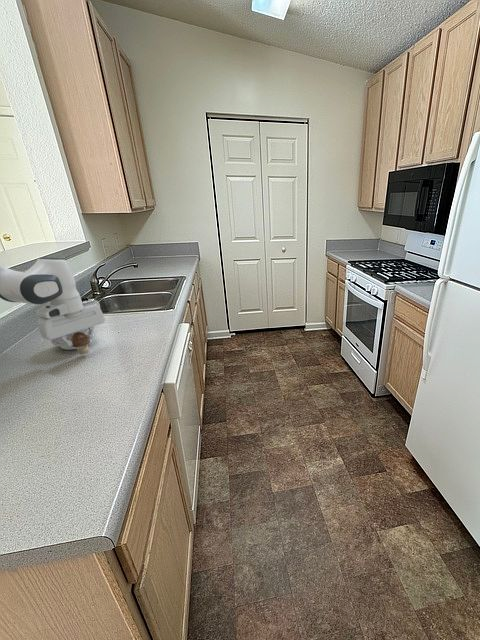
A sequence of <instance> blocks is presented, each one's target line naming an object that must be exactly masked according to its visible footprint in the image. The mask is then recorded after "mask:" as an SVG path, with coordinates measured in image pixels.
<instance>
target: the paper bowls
mask: <svg viewBox="0 0 480 640" xmlns="http://www.w3.org/2000/svg"><path fill="white" fill-rule="evenodd" d="M77 332H82V333H84V334H85V335H86V334H88V332H89V329H87V328H86V329H83V330H80V331H77ZM74 333H76V332H74ZM74 333H71V334H68V335H66V336H67V338H65V339H67V340H69V339H70V338H71V337H72V335H73V334H74ZM96 336H97V330H96V328H95V327H94V332H93V337H94V338H95V337H96ZM90 341H91V342H90V343H89V344H88V346H89V345H90V344H91V343H92V341H93V339H90ZM50 343H51V344H52V345H53V346H57V347H60V348H61V349H62V350H67V351H69V350H70V351H72V350H77V348H76V347H72V346H70V347H68V346H67V345H66V343H65V342H64V341H63V340H62V339H60V337H59V338H55V339H52V340H50Z"/></svg>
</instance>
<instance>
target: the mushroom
mask: <svg viewBox="0 0 480 640" xmlns="http://www.w3.org/2000/svg"><path fill="white" fill-rule="evenodd" d="M69 340H70V341H72V344H73V346H72V347H76V348H77V349H76V351H77V354H78V355H85V354H89V352H90V351H91V350H90V347H89V345H90V344H91V343H92V342H91V341H90V338H89V336H88V335H85V334H84V333H82V332H76V333H74V334H73V335H72V337H71V338H70V339H69ZM90 342H91V343H90ZM89 343H90V344H89ZM88 344H89V345H88Z"/></svg>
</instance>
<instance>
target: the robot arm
mask: <svg viewBox="0 0 480 640" xmlns="http://www.w3.org/2000/svg"><path fill="white" fill-rule="evenodd" d="M76 284H77V283H76V279H75V277H74V274H73V272H72V269H71V267H70V264H69V263H68V262H67V260H66V259H64V258H61V257H51V256H49V257H48V256H42V257H39V258H37V259H36V261H35V263H34V264H33V265H32V266H31V267H29V268H28V269H26V270H24V271H18V270H15V269H12V268H8V267H6V266H4V265H3V264H2V263H0V299H1V300H4V301H6V302H9V303H21V304H30V305H43V306H41V307H39V308H37V309H36V310H35V313H36V316H38V317H39V318H38V319H37V326H38V329H39V332H40V333H39V334H40V335H41V337H42V338H43V339H45V340H48V341H51V340H52V339H55V338H59V337H60V339H62V340H63V341H64V342H65V343H66V345H67V346H68V347H70V346H73V344H72V341H70V340H67V339H65V338H67V336H66V335H68V334H71V333H74V332H77V331H80V330H83V329H86V328H87V329H89V332H88V334H86V335H88V336H89V338H90V339H92V340H93V339H94V338H95V337H93V332H94V328H95V327H96V326H98V325H102V324H104V323H105V321H106V319H105V315H104V313H103V311H102V308H101V304H100V302H99V301H98V300H96V299H94V298H90V299H89V300H83V301H82V297H81V294H80V292H79V291H78V289H77V285H76Z"/></svg>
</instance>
